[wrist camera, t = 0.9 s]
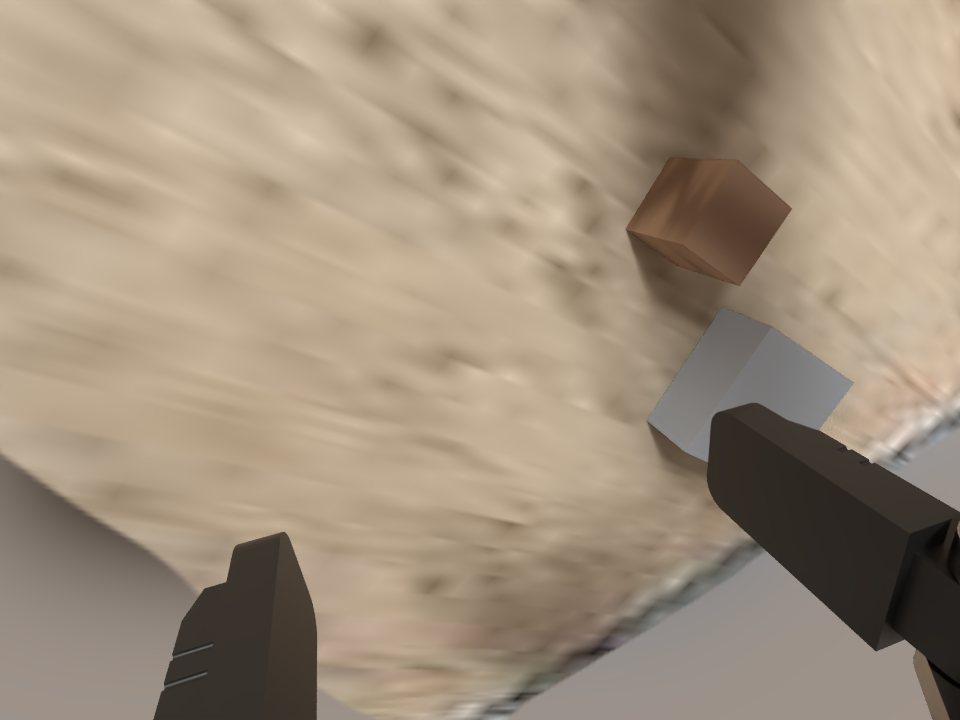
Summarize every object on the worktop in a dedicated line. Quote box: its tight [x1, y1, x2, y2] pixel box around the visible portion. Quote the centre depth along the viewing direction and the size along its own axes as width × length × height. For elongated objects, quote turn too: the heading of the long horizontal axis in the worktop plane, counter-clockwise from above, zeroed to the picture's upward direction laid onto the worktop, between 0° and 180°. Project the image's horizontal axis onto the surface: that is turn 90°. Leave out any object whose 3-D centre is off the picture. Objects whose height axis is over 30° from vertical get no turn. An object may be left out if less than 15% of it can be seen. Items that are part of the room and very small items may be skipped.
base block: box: [647, 307, 854, 463], centre depth 39 cm, size 10×10×5 cm
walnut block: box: [626, 158, 792, 286], centre depth 32 cm, size 5×5×6 cm
